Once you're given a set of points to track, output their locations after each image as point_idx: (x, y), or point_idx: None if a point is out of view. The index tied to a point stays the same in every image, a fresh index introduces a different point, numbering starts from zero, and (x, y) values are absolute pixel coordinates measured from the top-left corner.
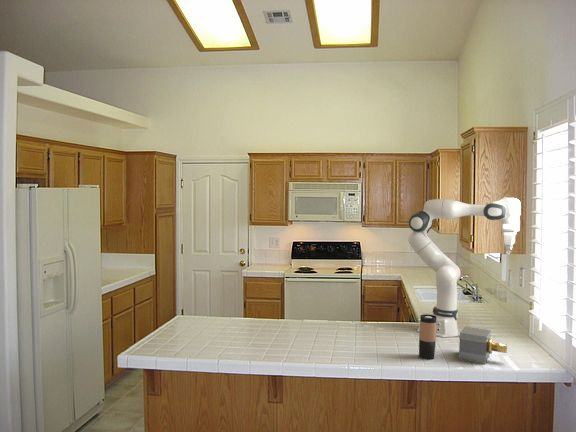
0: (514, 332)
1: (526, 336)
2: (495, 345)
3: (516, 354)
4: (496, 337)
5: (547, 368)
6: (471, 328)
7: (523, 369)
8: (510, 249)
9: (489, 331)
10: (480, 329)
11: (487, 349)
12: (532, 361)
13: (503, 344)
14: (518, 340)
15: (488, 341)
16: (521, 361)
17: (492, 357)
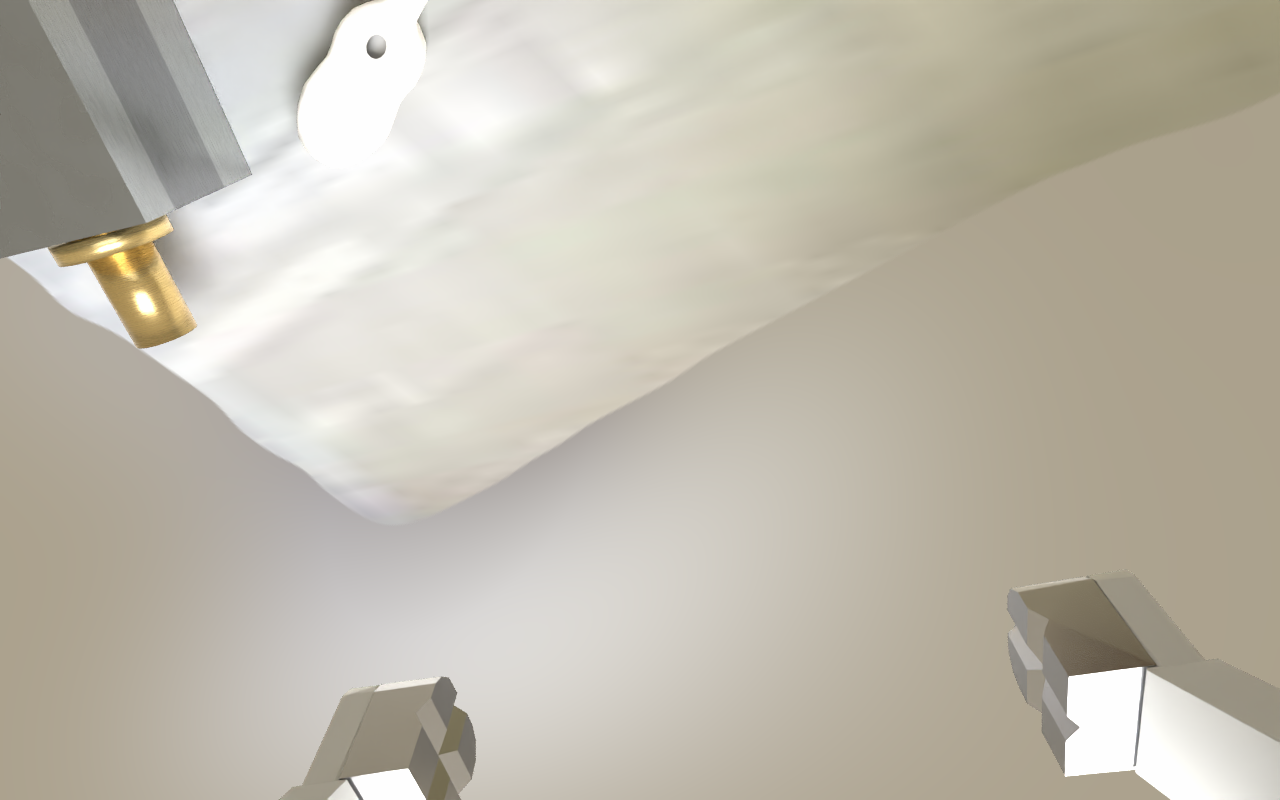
0: (1060, 85)
1: (982, 200)
2: (98, 281)
3: (452, 288)
4: (784, 25)
5: (347, 475)
6: (22, 73)
7: (214, 398)
8: (1100, 737)
9: (96, 231)
10: (75, 150)
11: None
12: (396, 393)
13: (133, 328)
14: (815, 191)
15: None
16: (340, 351)
17: (251, 198)
